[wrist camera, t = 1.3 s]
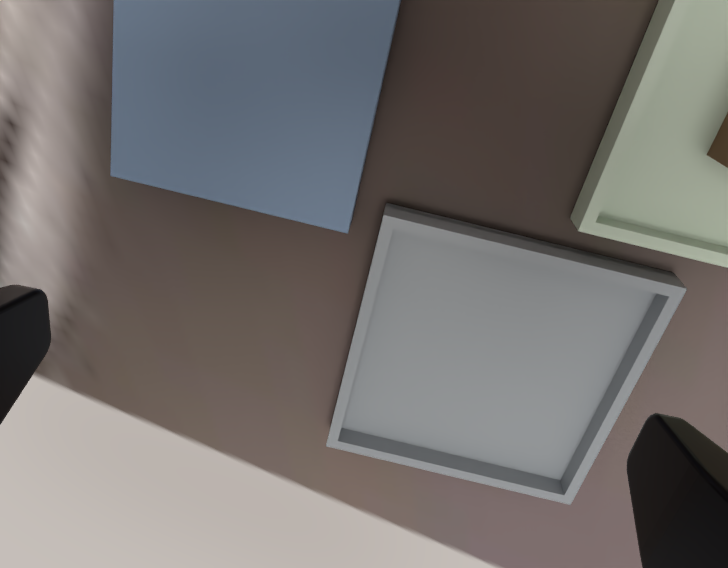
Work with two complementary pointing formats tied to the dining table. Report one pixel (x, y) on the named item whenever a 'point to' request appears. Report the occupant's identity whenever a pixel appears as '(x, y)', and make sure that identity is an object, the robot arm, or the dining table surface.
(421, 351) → the grey tray
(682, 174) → the green tray
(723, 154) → the letter cube
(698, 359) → the dining table surface
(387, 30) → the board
